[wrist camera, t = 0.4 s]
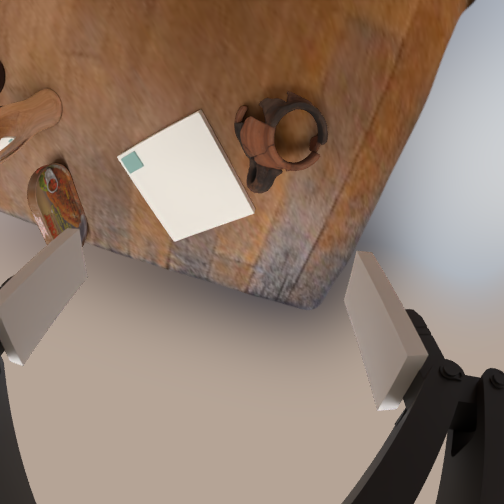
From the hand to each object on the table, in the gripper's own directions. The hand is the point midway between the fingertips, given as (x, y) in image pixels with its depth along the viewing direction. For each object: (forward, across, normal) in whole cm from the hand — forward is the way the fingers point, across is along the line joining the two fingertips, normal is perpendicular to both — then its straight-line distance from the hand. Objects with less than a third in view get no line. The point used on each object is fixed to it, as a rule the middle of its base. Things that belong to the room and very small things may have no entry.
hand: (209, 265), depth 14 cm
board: (+28, -7, -4) cm, 29 cm away
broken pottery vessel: (+26, +4, +3) cm, 27 cm away
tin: (+31, -27, -8) cm, 42 cm away
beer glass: (+28, -29, +7) cm, 41 cm away
